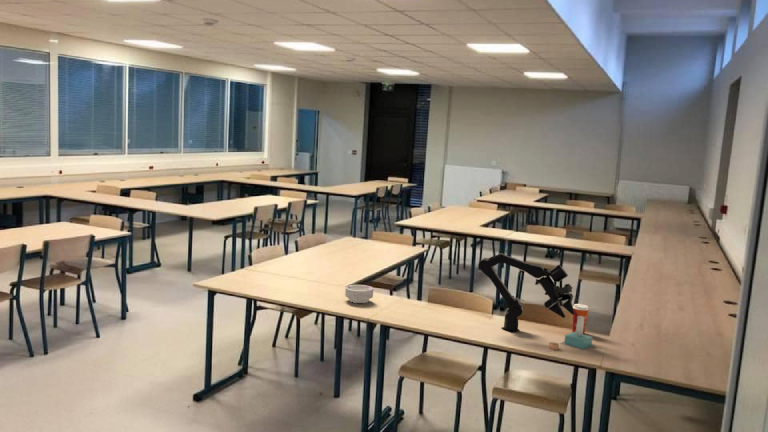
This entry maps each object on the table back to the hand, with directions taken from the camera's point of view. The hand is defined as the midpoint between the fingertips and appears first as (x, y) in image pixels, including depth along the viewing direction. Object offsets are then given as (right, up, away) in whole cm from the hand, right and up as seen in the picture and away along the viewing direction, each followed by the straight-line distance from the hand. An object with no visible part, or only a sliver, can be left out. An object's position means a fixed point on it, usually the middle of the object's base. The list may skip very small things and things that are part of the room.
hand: (569, 315), depth 287 cm
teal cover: (+3, -13, -3) cm, 13 cm away
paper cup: (+9, -11, +16) cm, 22 cm away
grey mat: (+3, -13, -3) cm, 14 cm away
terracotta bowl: (-10, -13, -11) cm, 20 cm away
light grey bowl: (-100, 0, +48) cm, 111 cm away
